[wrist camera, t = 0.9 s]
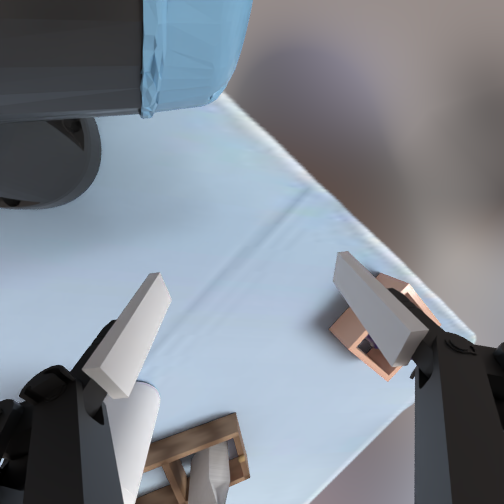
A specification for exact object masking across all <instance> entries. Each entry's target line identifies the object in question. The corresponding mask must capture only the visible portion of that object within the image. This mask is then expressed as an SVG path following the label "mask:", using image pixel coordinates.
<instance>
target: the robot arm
mask: <svg viewBox="0 0 504 504" xmlns="http://www.w3.org/2000/svg"><path fill="white" fill-rule="evenodd" d="M252 2H253V0H0V208H4V209H47V208H53V207H57V206H60V205H64V204H66V203H68V202H70V201H72V200H74V199H76V198H77V197H79V196H80V195H81V194H83V193H84V192H85V191H86V190H87V189H88V187H89V186H90V185H91V184H92V182H93V180H94V179H95V177H96V175H97V172H98V169H99V166H100V161H101V141H100V135H99V131H98V127H97V124H96V122H95V119H94V117H104V116H118V115H132V114H140V117H141V118H143V119H144V118H151V117H152V116H153V114H154V113H155V112H161V111H169V110H177V109H185V108H193V107H201V106H205V105H207V104H210V103H211V102H213V101H214V100H216V99H217V98H218V97H219V95H220V94H221V93H222V92H223V90H224V89H225V88H226V86H227V84H228V81H229V80H230V79H231V76H232V74H233V73H234V71H235V68H236V65H237V62H238V59H239V56H240V53H241V50H242V46H243V42H244V38H245V35H246V30H247V25H248V22H249V17H250V13H251V7H252ZM333 283H334V284H335V286H336V287H337V288H338V290H339V291H340V293H341V294H342V296H343V297H344V299H345V300H346V301H347V303H348V304H349V306H350V307H351V309H352V310H353V312H354V313H355V315H356V316H357V317H358V319H359V320H360V322H361V323H362V325H363V326H364V328H365V329H366V330H367V332H368V333H369V335H370V336H371V338H372V339H373V341H374V342H375V344H376V345H377V346H378V348H379V349H380V351H381V352H382V354H383V355H384V357H385V358H386V359H387V361H388V362H389V364H390V365H391V367H398V366H407V365H408V363H409V362H410V360H411V358H412V360H413V361H414V362H415V363H416V365H417V366H416V368H415V369H414V371H413V372H412V374H411V376H410V378H411V379H413V378H414V377H415V504H504V342H503V343H501V344H500V346H499V347H498V348H492V347H486V346H479V345H474V344H473V343H471V342H470V341H468V340H467V339H465V338H463V337H461V336H459V335H457V334H453V333H449V332H445V331H444V330H443V329H442V328H440V327H439V326H438V325H437V324H436V323H435V322H434V321H433V320H432V319H430V318H429V317H428V316H427V315H426V314H425V313H424V312H423V311H422V310H420V309H419V308H417V306H416V305H415V304H414V303H413V302H411V301H410V300H409V299H408V298H407V297H406V296H405V295H404V294H403V293H401V292H399V291H397V290H396V289H394V288H385V287H384V286H383V285H382V284H381V283H380V282H379V281H378V280H377V279H376V278H375V277H374V276H373V275H372V274H371V273H370V272H369V271H368V270H367V269H366V268H365V267H364V266H363V265H362V264H361V263H360V262H359V261H357V260H356V259H355V258H354V257H353V256H352V255H351V254H350V253H349V252H348V251H345V252H337V259H336V265H335V271H334V277H333ZM171 301H172V299H171V297H170V294H169V292H168V290H167V287H166V285H165V283H164V281H163V278H162V276H161V274H160V272H159V273H150V274H149V275H148V276H147V278H146V279H145V281H144V282H143V284H142V285H141V286H140V288H139V289H138V291H137V292H136V293H135V295H134V296H133V298H132V299H131V300H130V302H129V303H128V305H127V306H126V307H125V309H124V310H123V312H122V313H121V315H120V316H119V317H118V319H117V320H112V321H111V322H110V323H108V324H107V325H106V326H105V327H104V328H103V329H102V330H101V332H100V333H99V334H98V336H97V338H95V340H94V341H93V342H92V344H91V346H89V348H88V349H87V350H86V352H85V353H84V354H83V356H82V357H81V358H80V360H79V361H78V362H77V364H76V365H75V366H74V368H73V369H72V370H71V372H69V371H68V370H67V369H66V368H65V367H63V366H61V365H55V366H51V367H49V368H47V369H45V370H43V371H41V372H40V373H39V374H37V375H36V376H34V377H33V378H32V379H31V380H30V381H29V382H28V383H27V384H26V385H25V386H24V388H23V389H22V390H21V393H20V395H19V397H21V398H22V399H24V400H26V401H24V402H22V403H17V402H16V401H14V400H12V399H6V400H3V401H0V462H1V459H2V458H5V459H4V461H3V463H2V465H1V467H0V504H124V501H123V496H122V490H121V485H120V479H119V474H118V468H117V463H116V457H115V452H114V447H113V441H112V436H111V430H110V425H109V419H108V414H107V408H106V405H105V403H104V399H105V397H106V395H107V394H108V395H109V396H110V397H112V398H113V399H119V398H127V397H129V395H130V393H131V391H132V389H133V386H134V384H135V382H136V380H137V377H138V375H139V373H140V371H141V368H142V366H143V364H144V362H145V359H146V357H147V355H148V353H149V350H150V348H151V346H152V343H153V341H154V339H155V337H156V334H157V332H158V330H159V328H160V325H161V323H162V321H163V319H164V316H165V314H166V312H167V310H168V307H169V305H170V303H171Z"/></svg>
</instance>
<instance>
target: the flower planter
mask: <svg viewBox="0 0 504 504" xmlns="http://www.w3.org/2000/svg"><path fill="white" fill-rule="evenodd" d="M376 279H377V280H378V281H379V282H380V283H381V284H382V285H383V286H384V287H385V288H394V289H396V290H397V291H399V292H401V293H403V294H404V295H405V296H406V297H407V298H408V299H409V300H410V301H411V302H413V303H414V304H415V305H416V306H417V308H419V309H420V310H422V311H423V312H424V313H425V314H426V315H427V316H428V317H429V318H430V319H432V320H433V321H434V322H435V323H436V324H437V325H438V326H439V327H440V326H441V324H440V322H439V321H438V320H437V319H436V317H435V316H434V315H433V313H432V312H431V311H430V310H429V308H428V307H427V306H426V305H425V303H424V302H423V301H422V300H421V298H420V297H419V296H418V294H417V293H416V292H415V291H414V289H413V288H412V287H411V286H410V284H409V283H406V282H404V281H401V280H398V279H396V278H393V277H390V276H388V275H385V274H383V273H380V274H379V275H378V276H377V277H376ZM329 330H330V331H331V332H332V333H333V334H334V335H335V336H336V337H337V338H338V339H339V340H340V341H341V342H342V344H343V345H344V346H345V347H346V348H347V349H348V350H350V351H351V352H352V353H353V354H354V355H356V356H357V357H358V358H359V359H361V360H362V361H363V362H364V363H365V364H367V365H368V366H369V367H370V368H372V369H373V370H374V371H375V372H376V373H378V374H379V375H380V376H381V377H383V378H384V379H385V380H386V381H387V382H388V381H389V380H390V379H391V378H392V377H393V376H394V375H395V374H396V373H397V371H398V370H399V369H400V368H401V367H402V366H398V367H391V365H390V364H389V362H388V361H387V359H386V358H385V357H384V355H383V354H382V352H381V351H380V350H379V349H374V348H373V347H372V348H371V350H370V351H369V352H368V353H367V354H365V353H364V352H363V351H362V350H361V349H360V348H358V347H357V346H358V345H359V344H360V342H361V341H362V340H363V339H364V338H365V337H366V336H367V335H368V334H369V333H368V332H367V330H366V329H365V328H364V326H363V325H362V323H361V322H360V320H359V319H358V317H357V316H356V315H355V313H354V312H353V310H352V309H351V307H349V308H348V309H347V310H346V311H345V312H344V313H343V314H342V315H341V316H340V317H339V319H338V320H337V321H336V322H335V323H334V324H333V325H332V326H331V327H330V328H329Z"/></svg>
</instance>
